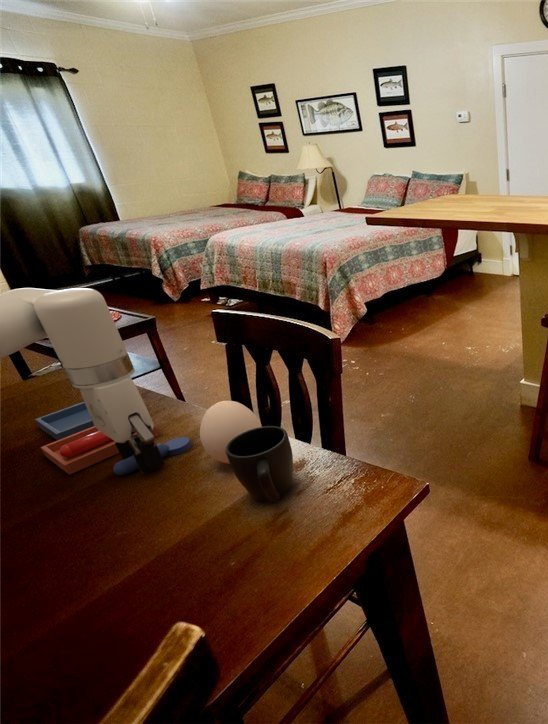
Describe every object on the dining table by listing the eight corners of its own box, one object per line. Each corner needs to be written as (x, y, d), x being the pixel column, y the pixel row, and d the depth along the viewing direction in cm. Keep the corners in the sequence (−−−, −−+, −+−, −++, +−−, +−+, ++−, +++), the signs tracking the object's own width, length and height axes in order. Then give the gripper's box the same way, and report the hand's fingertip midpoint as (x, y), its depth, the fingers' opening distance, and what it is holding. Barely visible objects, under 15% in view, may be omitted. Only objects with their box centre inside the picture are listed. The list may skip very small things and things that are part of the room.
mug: (244, 532, 67) (224, 479, 63) (242, 484, 76) (225, 435, 72) (307, 511, 71) (292, 459, 67) (298, 467, 80) (284, 420, 76)
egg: (279, 447, 85) (263, 392, 80) (243, 478, 78) (223, 419, 73) (238, 442, 87) (219, 387, 82) (199, 472, 79) (175, 414, 74)
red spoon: (68, 463, 81) (62, 452, 80) (58, 456, 82) (52, 445, 81) (143, 431, 89) (139, 420, 88) (133, 425, 91) (128, 414, 90)
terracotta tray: (69, 474, 79) (64, 465, 78) (45, 456, 83) (40, 447, 82) (158, 435, 89) (155, 426, 88) (133, 420, 94) (129, 412, 93)
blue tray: (60, 443, 87) (56, 434, 86) (39, 427, 91) (34, 419, 91) (143, 410, 97) (140, 401, 96) (120, 397, 102) (117, 389, 101)
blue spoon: (122, 481, 77) (116, 470, 76) (111, 474, 79) (105, 462, 78) (196, 446, 86) (191, 435, 85) (184, 439, 88) (180, 429, 87)
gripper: (47, 366, 74) (95, 459, 82) (95, 392, 66) (143, 493, 74) (105, 349, 80) (145, 437, 88) (155, 371, 72) (194, 466, 80)
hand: (143, 462), depth 81 cm, fingers open, 5 cm apart
